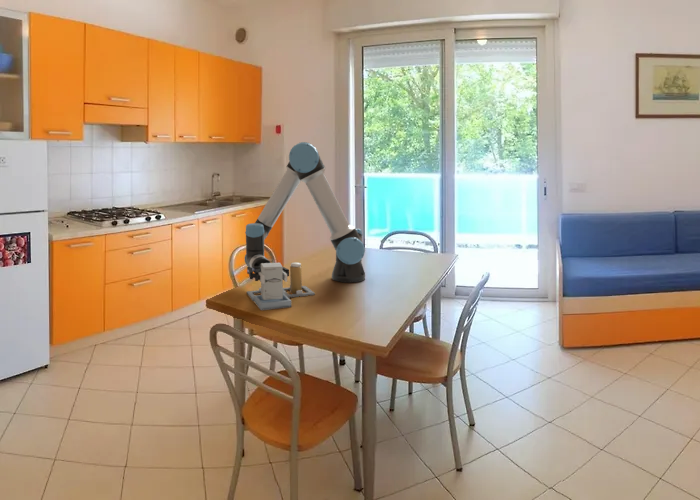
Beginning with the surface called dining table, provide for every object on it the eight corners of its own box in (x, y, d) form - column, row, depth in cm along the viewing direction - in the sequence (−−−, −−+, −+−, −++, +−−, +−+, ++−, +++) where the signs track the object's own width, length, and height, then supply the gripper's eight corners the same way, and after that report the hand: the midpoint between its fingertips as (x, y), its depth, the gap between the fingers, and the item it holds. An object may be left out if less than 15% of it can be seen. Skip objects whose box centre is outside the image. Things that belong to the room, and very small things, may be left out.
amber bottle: (299, 290, 213) (299, 261, 211) (303, 293, 209) (302, 264, 207) (289, 291, 212) (288, 262, 209) (292, 294, 207) (291, 265, 205)
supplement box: (263, 300, 189) (262, 267, 187) (261, 295, 196) (260, 262, 194) (283, 299, 191) (282, 266, 189) (280, 293, 198) (280, 261, 196)
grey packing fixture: (305, 287, 218) (305, 283, 218) (314, 295, 207) (314, 290, 207) (246, 293, 209) (246, 288, 208) (253, 301, 198) (252, 296, 197)
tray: (283, 298, 202) (283, 292, 201) (291, 307, 191) (291, 300, 191) (254, 301, 197) (254, 295, 197) (261, 310, 187) (260, 303, 186)
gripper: (285, 272, 213) (302, 286, 192) (235, 276, 205) (246, 291, 184) (285, 255, 212) (302, 266, 191) (234, 258, 204) (246, 271, 183)
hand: (274, 278), depth 188 cm, fingers closed on supplement box, 8 cm apart
